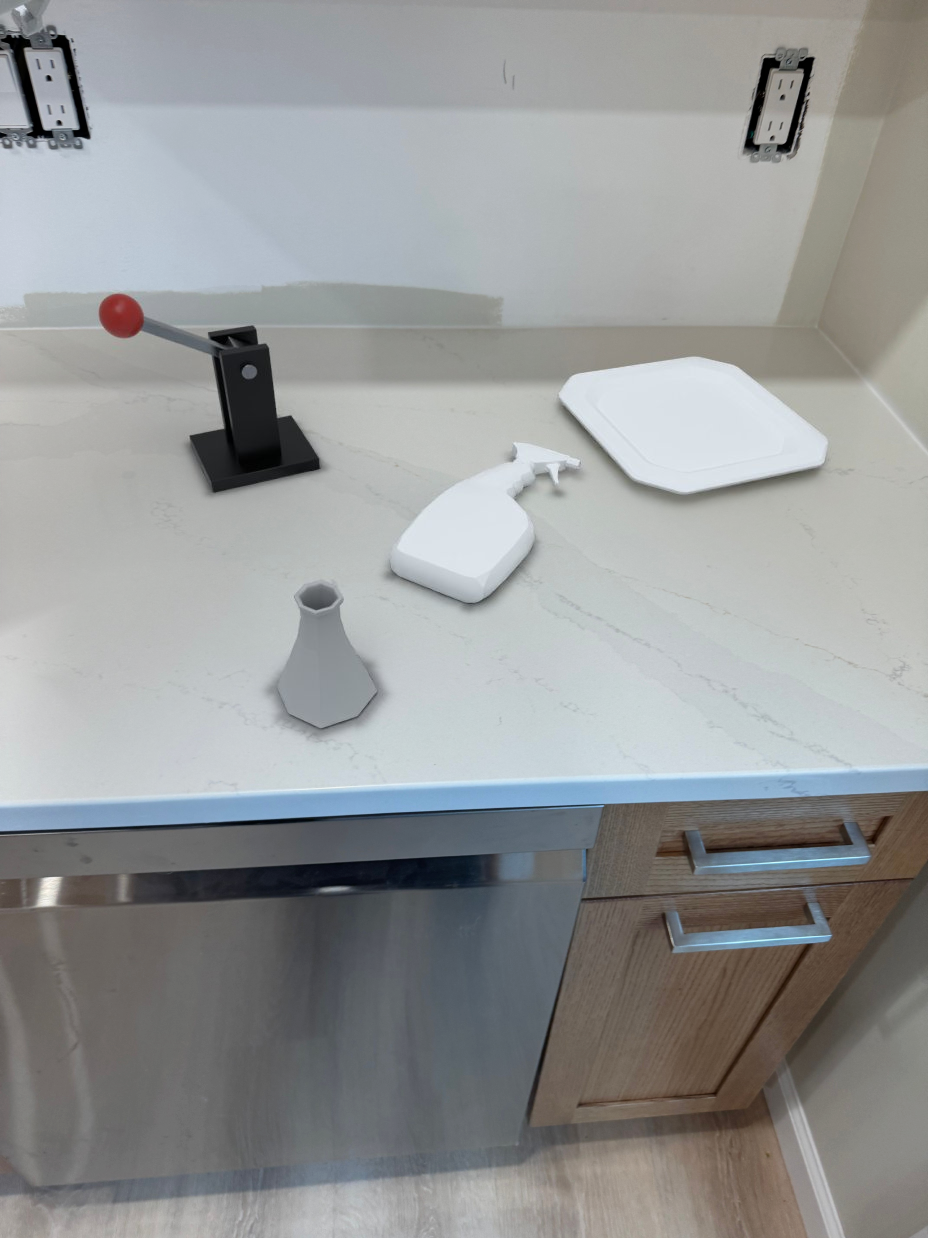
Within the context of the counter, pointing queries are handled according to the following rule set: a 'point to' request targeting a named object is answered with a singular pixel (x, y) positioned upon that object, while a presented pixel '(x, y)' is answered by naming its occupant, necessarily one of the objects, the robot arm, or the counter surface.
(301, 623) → the flask
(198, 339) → the lever
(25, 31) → the robot arm
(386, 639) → the counter surface
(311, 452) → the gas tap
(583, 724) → the counter surface
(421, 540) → the spray bottle
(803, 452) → the plate
